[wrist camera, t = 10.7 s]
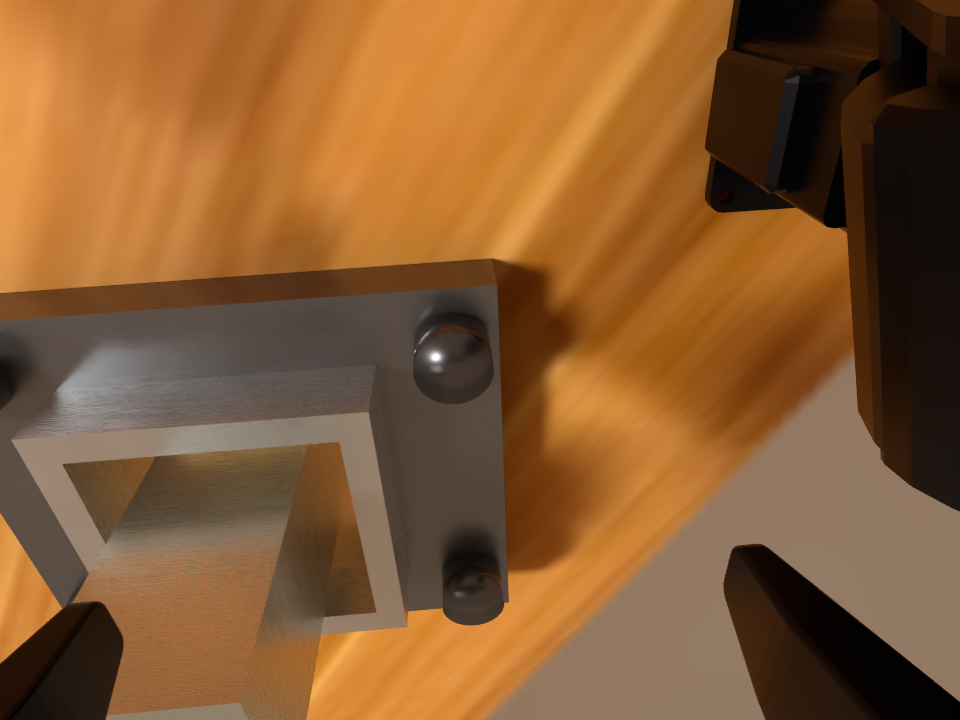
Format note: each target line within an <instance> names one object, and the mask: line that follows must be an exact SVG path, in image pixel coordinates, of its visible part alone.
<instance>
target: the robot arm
mask: <svg viewBox="0 0 960 720" xmlns="http://www.w3.org/2000/svg"><path fill="white" fill-rule="evenodd" d="M705 149H706V150H707V151H708V152H709V154H710V155H711V158H710V164H709V171H708V178H707V184H706V191H705V200H706V202H707V204H708V205H709V206H710V207H711V208H713V209H714V210H715V211H717V212H722V213H725V212H739V211H754V210H768V209H783V208H798V209H800V210H801V211H803V212H805V213H806V214H808V215H809V216H811V217H812V218H814V219H815V220H817V221H819V222H820V223H822V224H823V225H825V226H826V227H830V228H840V229H842V230H843V231H845V232H846V233H847V238H848V255H849V271H850V288H851V304H852V320H853V337H854V353H855V370H856V385H857V402H858V412H859V414H860V416H861V417H862V419H863V421H864V423H865V425H866V427H867V429H868V431H869V433H870V435H871V436H872V439H873V441H874V442H875V443H876V445H877V446H878V447H879V448H880V449H881V459H882V461H883V463H884V464H885V465H886V466H888V467H889V468H890V469H891V470H892V471H893V472H895V473H896V474H897V475H898V476H900V477H901V478H902V479H903V480H904V481H906V482H907V483H908V484H909V485H911V486H912V487H914V488H916V489H917V490H920V491H921V492H923V493H925V494H927V495H929V496H931V497H932V498H935V499H936V500H938V501H940V502H942V503H944V504H945V505H947V506H949V507H951V508H953V509H955V510H958V511H960V0H734V3H733V10H732V16H731V23H730V30H729V37H728V43H727V50H725V51H724V52H723V53H722V55H721V56H720V57H719V58H718V60H717V66H716V73H715V80H714V87H713V94H712V101H711V108H710V115H709V122H708V129H707V136H706V143H705ZM727 188H728V189H729V193H728V196H727V197H726V198H725V199H724V200H721V201H718V195H719V193H720V192H721V191H722V190H724V189H727ZM724 595H725V599H726V602H727V606H728V609H729V612H730V615H731V618H732V621H733V625H734V628H735V631H736V634H737V637H738V640H739V644H740V647H741V650H742V653H743V656H744V659H745V662H746V665H747V669H748V672H749V675H750V678H751V681H752V684H753V688H754V690H755V693H756V696H757V699H758V702H759V705H760V707H761V710H762V712H763V715H764V717H765V720H960V702H959V701H958V700H957V699H956V698H954V697H953V696H952V695H951V694H949V693H948V692H947V691H946V690H944V689H943V688H942V687H941V686H939V685H938V684H937V683H936V682H934V681H933V680H932V679H931V678H930V677H928V676H927V675H926V674H925V673H923V672H922V671H921V670H920V669H918V668H917V667H916V666H915V665H913V664H912V663H911V662H910V661H908V660H907V659H906V658H905V657H903V656H902V655H901V654H900V653H898V652H897V651H896V650H895V649H893V648H892V647H891V646H890V645H888V644H887V643H886V642H885V641H884V640H882V639H881V638H880V637H879V636H877V635H876V634H875V633H874V632H872V631H871V630H870V629H869V628H867V627H866V626H865V625H864V624H862V623H861V622H860V621H859V620H857V619H856V618H855V617H853V616H852V615H851V614H850V613H849V612H847V611H846V610H845V609H844V608H842V607H841V606H840V605H839V604H837V603H836V602H835V601H834V600H832V599H831V598H830V597H829V596H828V595H826V594H825V593H824V592H823V591H821V590H820V589H819V588H817V587H816V586H815V585H814V584H813V583H811V582H810V581H809V580H808V579H806V578H805V577H804V576H803V575H801V574H800V573H799V572H798V571H796V570H795V569H794V568H793V567H791V566H790V565H789V564H788V563H786V562H785V561H784V560H783V559H781V558H780V557H779V556H778V555H776V554H775V553H774V552H773V551H772V550H770V549H769V548H768V547H766V546H764V545H761V544H750V545H739V546H735V547H734V548H733V549H732V551H731V555H730V559H729V562H728V566H727V570H726V575H725V579H724ZM123 648H124V640H123V636H122V633H121V631H120V630H119V628H118V626H117V625H116V623H115V621H114V619H113V618H112V616H111V614H110V613H109V611H108V609H107V607H106V606H105V605H104V604H103V603H102V602H100V601H89V602H78V603H72V604H69V605H67V606H66V607H64V608H63V609H62V610H60V611H59V612H58V613H57V614H56V615H55V616H54V617H52V618H51V619H50V620H49V621H48V622H47V623H46V624H45V625H43V626H42V627H41V628H40V629H39V630H38V631H37V632H35V633H34V634H33V635H32V636H31V637H30V638H29V639H28V640H26V641H25V642H24V643H23V644H22V645H21V646H20V647H19V648H17V649H16V650H15V651H14V652H13V653H12V654H11V655H9V656H8V657H7V658H6V659H5V660H4V661H3V662H2V663H0V720H106V717H107V713H108V709H109V705H110V701H111V697H112V693H113V690H114V686H115V682H116V678H117V674H118V670H119V666H120V662H121V658H122V654H123Z"/></svg>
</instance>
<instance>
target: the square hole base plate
mask: <svg viewBox="0 0 960 720" xmlns="http://www.w3.org/2000/svg"><path fill="white" fill-rule="evenodd" d="M307 444H312V446H313V449H314V453H315V457H316V461H317V465H318V468H319V472H320V476H321V480H322V484H323V487H324V491H325V495H326V499H327V503H328V506H329V510H330V514H331V518H332V522H333V525H334V529H335V533H336V537H337V540H336V546H335V552H334V558H333V564H332V570H331V576H330V582H329V588H328V594H327V600H326V606H325V612H324V618H323V624H322V630H321V635H323V634H334V633H346V632H357V631H368V630H379V629H391V628H402V627H407V620H408V611H416V610H427V609H439V608H443V612H444V614H445V615H446V617H447V618H448V619H450V620H451V621H453V622H455V623H458V624H462V625H480V624H484V623H487V622H489V621H491V620H493V619H495V618H496V617H497V616H498V615H499V614H500V613H501V612H502V610H503V607H504V603H507V602H509V597H508V569H507V541H506V513H505V485H504V457H503V429H502V401H501V373H500V345H499V317H498V289H497V281H496V276H495V271H494V267H493V262H492V259H482V260H468V261H454V262H439V263H425V264H411V265H397V266H383V267H369V268H355V269H341V270H326V271H312V272H298V273H284V274H270V275H256V276H242V277H227V278H213V279H199V280H185V281H171V282H157V283H143V284H129V285H114V286H100V287H86V288H72V289H58V290H44V291H30V292H16V293H1V294H0V513H1V514H2V516H3V517H4V519H5V520H6V522H7V524H8V525H9V527H10V528H11V530H12V531H13V533H14V534H15V536H16V537H17V539H18V541H19V542H20V544H21V545H22V547H23V548H24V550H25V551H26V553H27V554H28V556H29V558H30V559H31V561H32V562H33V564H34V565H35V567H36V568H37V570H38V571H39V573H40V574H41V576H42V578H43V579H44V581H45V582H46V584H47V585H48V587H49V588H50V590H51V591H52V593H53V595H54V596H55V598H56V599H57V601H58V602H59V604H60V605H61V607H62V608H64V607H66V606H67V605H69V604H72V603H73V601H74V599H75V598H76V596H77V594H78V592H79V591H80V589H81V587H82V585H83V584H84V582H85V580H86V578H87V577H88V575H89V573H90V571H91V570H92V568H93V566H94V564H95V563H96V561H97V559H98V557H99V556H100V554H101V552H102V550H103V549H104V547H105V545H106V543H107V541H108V540H109V538H110V536H111V534H112V533H113V531H114V529H115V527H116V526H117V524H118V522H119V520H120V519H121V517H122V515H123V513H124V512H125V510H126V508H127V506H128V505H129V503H130V501H131V499H132V498H133V496H134V494H135V492H136V491H137V489H138V487H139V485H140V484H141V482H142V480H143V478H144V477H145V475H146V473H147V471H148V470H149V468H150V466H151V464H152V463H153V461H154V459H155V457H156V456H168V455H181V454H193V453H206V452H218V451H231V450H244V449H256V448H269V447H281V446H294V445H307Z"/></svg>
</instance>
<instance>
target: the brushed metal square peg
mask: <svg viewBox="0 0 960 720" xmlns="http://www.w3.org/2000/svg"><path fill="white" fill-rule="evenodd" d="M336 540H337V537H336V533H335V529H334V525H333V522H332V518H331V514H330V510H329V506H328V503H327V499H326V495H325V491H324V487H323V484H322V480H321V476H320V472H319V468H318V465H317V461H316V457H315V453H314V449H313V446H312V444H307V445H294V446H281V447H269V448H256V449H244V450H231V451H218V452H206V453H193V454H181V455H168V456H156V457H155V459H154V461H153V463H152V464H151V466H150V468H149V470H148V471H147V473H146V475H145V477H144V478H143V480H142V482H141V484H140V485H139V487H138V489H137V491H136V492H135V494H134V496H133V498H132V499H131V501H130V503H129V505H128V506H127V508H126V510H125V512H124V513H123V515H122V517H121V519H120V520H119V522H118V524H117V526H116V527H115V529H114V531H113V533H112V534H111V536H110V538H109V540H108V541H107V543H106V545H105V547H104V549H103V550H102V552H101V554H100V556H99V557H98V559H97V561H96V563H95V564H94V566H93V568H92V570H91V571H90V573H89V575H88V577H87V578H86V580H85V582H84V584H83V585H82V587H81V589H80V591H79V592H78V594H77V596H76V598H75V599H74V601H73V603H78V602H89V601H100V602H102V603H103V604H104V605H105V606H106V607H107V609H108V611H109V613H110V614H111V616H112V618H113V619H114V621H115V623H116V625H117V626H118V628H119V630H120V631H121V633H122V636H123V640H124V648H123V654H122V658H121V662H120V666H119V670H118V674H117V678H116V682H115V686H114V690H113V693H112V697H111V701H110V705H109V709H108V713H107V717H106V720H306V719H307V713H308V708H309V702H310V696H311V690H312V684H313V678H314V672H315V666H316V660H317V654H318V648H319V642H320V636H321V630H322V624H323V618H324V612H325V606H326V600H327V594H328V588H329V582H330V576H331V570H332V564H333V558H334V552H335V546H336Z"/></svg>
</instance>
